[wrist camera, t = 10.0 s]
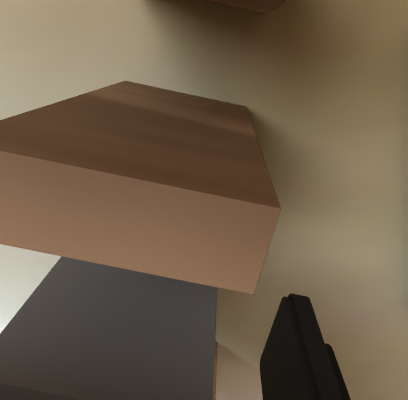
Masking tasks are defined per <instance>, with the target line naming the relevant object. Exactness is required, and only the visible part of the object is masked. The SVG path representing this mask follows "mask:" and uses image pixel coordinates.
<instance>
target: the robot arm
mask: <svg viewBox="0 0 408 400" xmlns="http://www.w3.org/2000/svg"><path fill="white" fill-rule="evenodd" d="M260 375H261V385H262V394H263V400H351V399H350V397H349V394H348V391H347V388H346V385H345V382H344V380H343V377H342V374H341V371H340V368H339V366H338V363H337V360H336V357H335V354H334V351H333V349H332V347H331V346H330V345H329V344H325V343H324V340H323V337H322V334H321V331H320V328H319V325H318V322H317V319H316V316H315V313H314V310H313V307H312V304H311V301H310V299H309V297H306V296H301V295H296V294H290V295H289V296H288V297H283V298H282V300H281V303H280V306H279V309H278V311H277V314H276V317H275V320H274V323H273V325H272V328H271V331H270V334H269V337H268V339H267V342H266V345H265V348H264V350H263V353H262V356H261V360H260Z"/></svg>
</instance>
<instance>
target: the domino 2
mask: <svg viewBox="0 0 408 400" xmlns="http://www.w3.org/2000/svg"><path fill="white" fill-rule="evenodd" d="M216 302H217V287H213V286H208V285H203V284H198V283H193V282H188V281H183V280H178V279H173V278H168V277H163V276H158V275H153V274H148V273H143V272H138V271H133V270H128V269H123V268H118V267H113V266H108V265H103V264H98V263H93V262H88V261H83V260H78V259H73V258H68V257H63V256H62V257H61V258H60V259H59V261H58V262H57V263H56V264H55V266H54V267H53V268H52V269H51V271H50V272H49V273H48V274H47V276H46V277H45V278H44V279H43V281H42V282H41V283H40V284H39V286H38V287H37V288H36V290H35V291H34V292H33V293H32V295H31V296H30V297H29V298H28V300H27V301H26V302H25V303H24V305H23V306H22V307H21V308H20V310H19V311H18V312H17V313H16V315H15V316H14V317H13V319H12V320H11V321H10V322H9V324H8V325H7V326H6V327H5V329H4V330H3V331H2V332H1V334H0V400H213V383H214V356H215V329H216Z"/></svg>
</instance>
